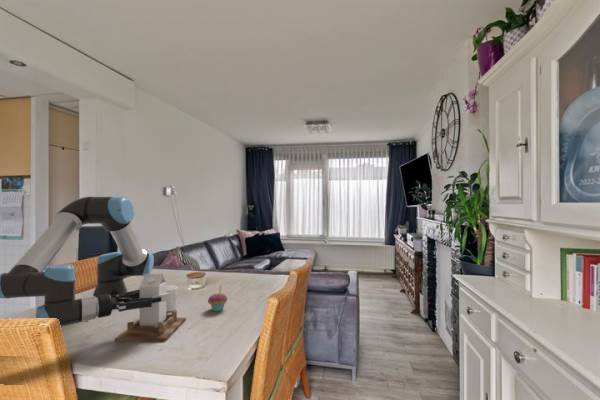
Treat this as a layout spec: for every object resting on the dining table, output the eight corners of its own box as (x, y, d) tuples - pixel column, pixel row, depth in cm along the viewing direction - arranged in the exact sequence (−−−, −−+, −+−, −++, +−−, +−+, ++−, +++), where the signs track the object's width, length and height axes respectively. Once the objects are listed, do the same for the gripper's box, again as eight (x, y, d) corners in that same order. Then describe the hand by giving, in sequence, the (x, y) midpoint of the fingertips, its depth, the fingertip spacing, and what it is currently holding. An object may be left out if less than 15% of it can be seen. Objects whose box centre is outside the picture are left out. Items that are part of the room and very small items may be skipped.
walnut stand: (142, 320, 118) (142, 308, 118) (185, 320, 118) (185, 307, 118) (115, 341, 100) (115, 326, 100) (166, 341, 100) (166, 326, 100)
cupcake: (230, 307, 133) (230, 281, 133) (219, 314, 125) (219, 286, 125) (215, 305, 136) (215, 280, 136) (203, 311, 128) (203, 285, 128)
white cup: (170, 313, 126) (170, 290, 127) (155, 311, 128) (155, 289, 128) (181, 306, 134) (181, 285, 134) (166, 305, 136) (166, 284, 136)
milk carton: (147, 319, 112) (148, 271, 113) (166, 319, 113) (166, 271, 113) (139, 327, 105) (139, 276, 106) (159, 326, 106) (159, 275, 106)
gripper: (92, 309, 106) (157, 296, 121) (101, 328, 89) (174, 310, 104) (93, 289, 106) (157, 278, 121) (101, 304, 89) (175, 290, 104)
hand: (165, 293), depth 112 cm, fingers closed on milk carton, 10 cm apart
